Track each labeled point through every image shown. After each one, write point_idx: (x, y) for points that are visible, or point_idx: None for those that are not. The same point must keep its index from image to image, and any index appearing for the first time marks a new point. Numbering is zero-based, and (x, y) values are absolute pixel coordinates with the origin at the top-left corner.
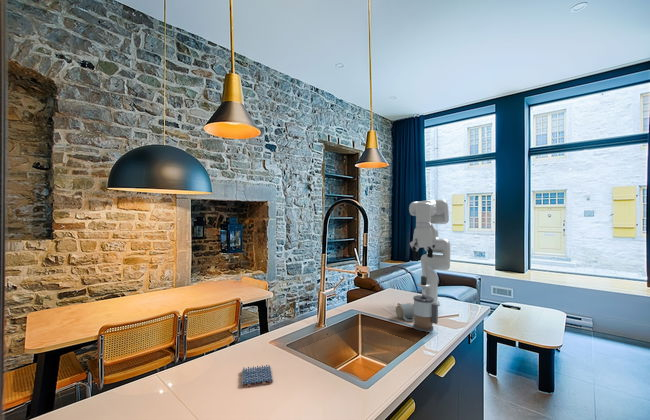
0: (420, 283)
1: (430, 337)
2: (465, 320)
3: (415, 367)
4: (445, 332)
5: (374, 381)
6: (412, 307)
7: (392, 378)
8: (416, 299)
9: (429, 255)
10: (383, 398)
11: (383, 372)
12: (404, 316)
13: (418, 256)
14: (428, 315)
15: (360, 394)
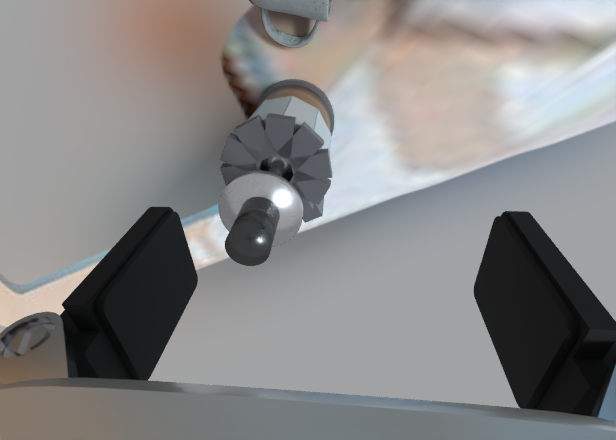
0: (254, 186)
1: None
2: (543, 122)
3: None
4: (343, 181)
5: (36, 285)
6: (317, 8)
7: (73, 290)
8: (223, 173)
9: (494, 279)
10: None
11: (60, 271)
12: (262, 15)
13: (178, 312)
14: None
15: (7, 300)
